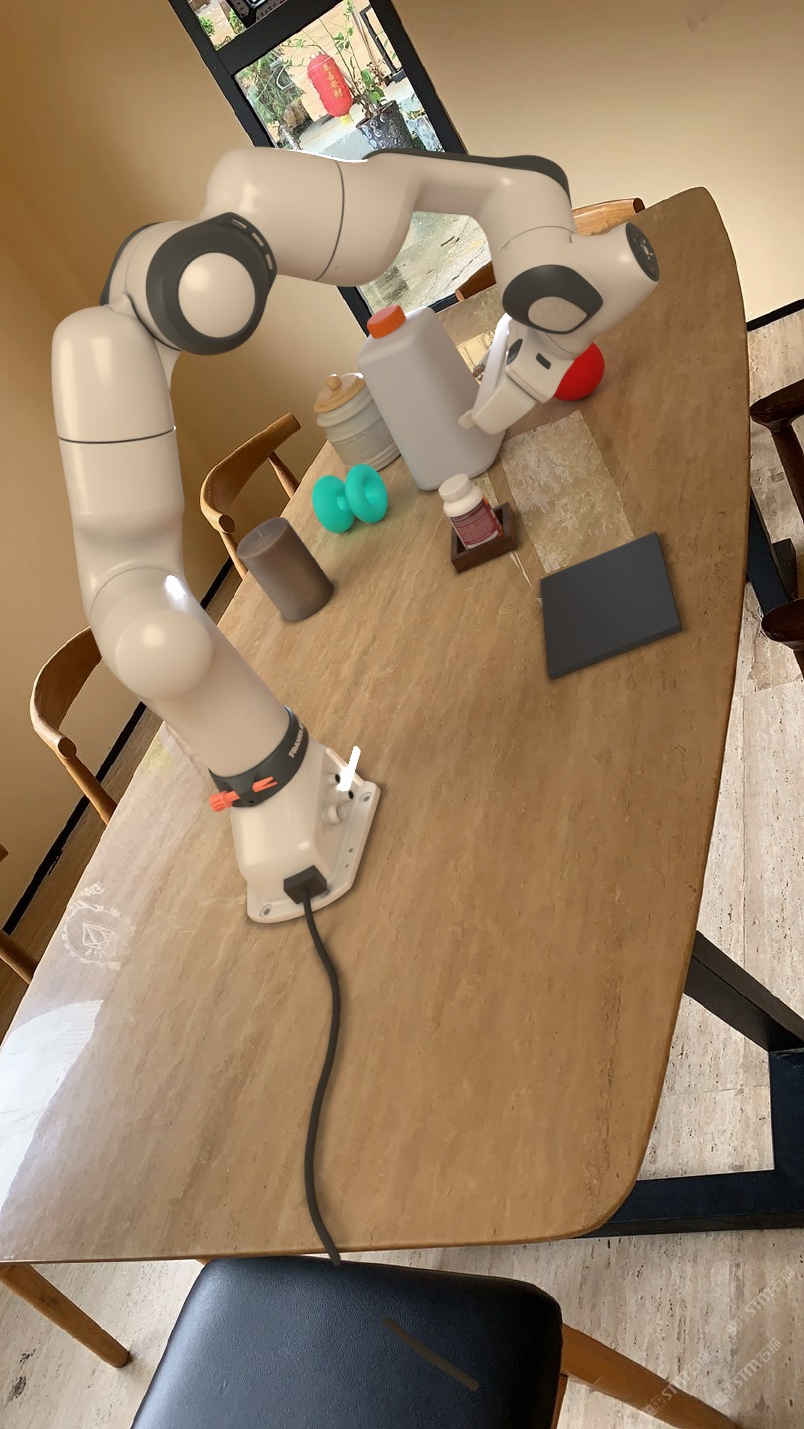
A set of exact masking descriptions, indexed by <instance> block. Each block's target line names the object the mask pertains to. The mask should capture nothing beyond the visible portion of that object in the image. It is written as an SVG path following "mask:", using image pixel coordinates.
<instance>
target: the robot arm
mask: <svg viewBox="0 0 804 1429" xmlns="http://www.w3.org/2000/svg"><path fill="white" fill-rule="evenodd" d="M569 184H570V183H569V179H568V176H567V174H566V172H565V170H564V169H563V168H562V166H560V165H559V164H558V163H556V162H555V161H554V160H551V159H548V158H546V157H543V156H541V155H534V154H521V155H520V154H517V155H510V156H501V157H500V156H483V155H475V154H474V155H473V154H465V153H457V152H448V151H441V150H440V151H439V150H432V149H422V148H411V147H384V148H378V149H375V150H372V151H370V152H368V153H367V154H365V155H364V156H363V157H362V158H361V159H360V160H346V159H340V158H335V157H331V156H327V155H323V154H318V153H315V152H308V151H303V150H296V149H289V148H282V147H281V148H280V147H270V146H269V147H268V146H238V147H235V148H232V149H230V150H228V151H226V152H225V153H224V154H222V155H221V157H220V158H219V159H218V160H217V162H216V164H215V165H214V166H213V169H212V170H211V173H210V175H209V177H208V181H207V184H206V187H205V188H206V189H205V194H204V195H205V196H204V205H203V206H202V209H201V211H200V213H199V214H198V215H197V217H195V218H193V220H189V221H186V220H169V221H160V222H159V221H158V222H152V223H148V224H145V225H142V226H140V227H139V228H136V229H135V230H134V231H132V232H131V233H130V234H129V235H128V236H127V237H125V239H124V240H123V242H122V243H121V244H120V245H119V247H118V249H117V252H115V253H116V254H115V255H114V258H113V259H112V260H113V261H112V263H111V267H110V270H109V273H108V275H107V278H106V281H105V283H104V286H103V288H102V290H101V294H100V296H99V300H98V304H99V305H96V306H91V307H85V308H82V309H80V310H77V311H75V312H73V313H71V314H69V315H68V316H66V317H65V318H63V319H62V320H61V321H60V322H59V323H58V325H57V326H56V328H55V330H54V332H53V336H52V339H51V357H50V358H51V359H50V361H51V362H50V363H51V364H50V365H51V369H50V370H51V372H50V373H51V393H52V404H53V405H52V406H53V414H54V422H55V430H56V435H57V440H58V445H59V451H60V458H61V463H62V468H63V475H64V481H65V486H66V487H65V488H66V492H67V498H68V503H69V509H70V516H71V522H72V523H71V524H72V532H73V542H74V550H75V557H76V565H77V572H78V574H77V575H78V579H79V580H78V581H79V587H80V588H79V589H80V594H81V601H82V607H83V612H84V615H85V617H86V619H87V622H88V625H89V628H90V630H91V633H92V635H93V638H94V640H95V643H96V646H97V648H98V651H99V653H100V656H101V659H102V661H103V663H104V664H105V666H106V667H107V669H108V670H109V671H110V672H111V674H112V675H113V676H114V677H115V678H116V679H117V680H118V681H119V682H120V683H121V684H123V686H125V687H126V689H128V691H130V692H131V693H132V694H133V695H134V696H135V697H136V698H137V699H138V700H139V701H140V702H141V703H143V705H144V706H146V707H147V708H148V709H149V710H150V711H152V712H153V713H154V714H155V715H156V716H157V717H159V718H160V719H161V720H163V721H164V722H165V723H166V724H167V725H168V726H169V727H170V728H171V729H172V730H173V731H174V732H175V733H176V734H177V735H178V736H179V737H180V739H181V740H182V741H183V742H184V743H185V744H186V745H187V746H188V748H190V749H191V751H193V752H194V754H195V755H196V756H197V757H198V758H199V760H200V761H201V762H203V764H204V765H205V766H206V767H207V770H208V773H209V775H210V778H211V779H212V783H213V784H214V786H215V788H216V789H217V791H218V792H219V793H215V794H212V795H210V796H209V801H208V802H209V805H210V808H211V809H212V811H214V812H215V813H221V812H222V811H224V810H225V809H227V808H228V812H229V822H230V828H231V832H232V837H233V838H232V839H233V846H234V850H235V851H234V852H235V857H236V864H237V868H238V870H239V872H240V874H241V876H242V878H243V879H244V880H245V882H246V911H247V912H246V913H247V916H248V917H249V918H250V920H251V921H252V922H256V923H258V924H274V923H275V924H276V923H281V922H286V921H290V920H294V919H297V918H300V917H303V916H305V920H306V924H307V927H308V930H309V934H310V936H311V939H312V942H313V944H314V947H315V950H316V952H317V954H318V955H319V958H320V960H321V962H322V964H323V966H324V968H325V970H326V973H327V975H328V978H329V983H330V989H331V996H332V997H331V998H332V1010H331V1012H332V1013H331V1023H330V1031H329V1037H328V1045H327V1050H326V1054H325V1059H324V1062H323V1066H322V1069H321V1073H320V1076H319V1080H318V1083H317V1085H316V1086H317V1087H316V1089H315V1094H314V1096H313V1102H312V1106H311V1111H310V1117H309V1123H308V1129H307V1134H306V1141H305V1150H304V1164H303V1165H304V1166H303V1170H304V1171H303V1172H304V1173H303V1174H304V1188H305V1195H306V1202H307V1207H308V1212H309V1216H310V1219H311V1222H312V1224H313V1226H314V1229H315V1231H316V1233H317V1236H318V1237H319V1239H320V1242H321V1244H322V1246H323V1247H324V1249H325V1251H326V1253H327V1256H328V1257H329V1259H330V1261H331V1264H333V1265H334V1267H338V1266H339V1265H340V1264H341V1261H342V1257H341V1254H340V1252H339V1251H338V1250H339V1249H337V1247H336V1245H335V1242H334V1241H333V1239H332V1237H331V1234H330V1232H329V1231H328V1229H327V1227H326V1224H325V1222H324V1220H323V1218H322V1215H321V1212H320V1209H319V1206H318V1201H317V1196H316V1191H315V1190H316V1188H315V1180H314V1157H315V1147H316V1140H317V1133H318V1128H319V1122H320V1114H321V1108H322V1104H323V1100H324V1095H325V1093H326V1089H327V1085H328V1082H329V1079H330V1075H331V1072H332V1068H333V1065H334V1061H335V1056H336V1052H337V1044H338V1038H339V1032H340V1031H339V1030H340V1022H341V993H340V985H339V980H338V975H337V971H336V969H335V967H334V965H333V963H332V961H331V959H330V957H329V955H328V953H327V951H326V949H325V946H324V944H323V942H322V938H321V937H320V933H319V931H318V928H317V925H316V922H315V918H314V913H313V912H316V911H318V910H321V909H323V908H324V907H327V906H329V905H330V904H332V903H333V902H335V901H336V900H338V899H339V898H341V897H342V896H343V895H345V894H346V893H347V892H348V891H349V890H350V889H351V888H352V887H353V885H354V883H355V880H356V876H357V873H358V870H359V867H360V863H361V860H362V856H363V853H364V851H365V847H366V843H367V840H368V837H369V833H370V829H371V828H372V823H373V820H374V817H375V813H376V810H377V807H378V804H379V801H380V797H381V793H382V790H381V788H380V787H379V786H378V785H377V784H376V783H375V782H372V781H369V780H365V779H363V778H361V776H359V775H358V773H357V772H356V771H355V770H356V768H357V763H358V760H359V757H360V754H361V750H360V748H359V747H358V746H357V745H356V746H353V750H352V754H351V756H350V759H349V760H350V761H349V763H347V762H346V761H345V760H344V759H343V758H342V757H341V756H340V755H339V754H338V753H337V752H336V751H335V750H334V749H333V748H331V747H329V746H328V745H325V744H324V743H321V742H320V741H319V740H317V739H315V738H313V737H312V736H311V735H309V731H308V729H307V727H306V725H304V723H303V722H302V720H301V718H300V717H299V716H298V715H297V714H296V713H295V712H294V711H292V710H291V709H290V707H288V706H286V705H284V704H282V703H281V701H280V700H279V699H278V697H277V696H276V695H275V694H274V693H273V691H272V690H271V689H270V688H269V686H268V685H267V684H266V683H265V681H263V679H262V678H261V677H260V675H259V674H258V673H257V671H256V670H255V669H254V668H253V667H252V666H251V664H250V663H249V662H248V660H247V659H246V658H245V657H244V656H243V655H242V653H240V652H239V651H238V649H237V648H236V647H235V646H234V645H233V643H232V642H231V641H230V640H229V639H228V638H227V636H226V635H225V634H224V633H223V632H222V630H221V629H220V628H219V627H218V625H217V624H216V623H215V622H214V621H213V619H212V617H210V616H209V615H208V613H207V612H206V611H205V609H204V608H203V606H202V605H201V604H200V602H199V601H198V600H197V598H196V597H195V595H194V594H193V593H192V591H191V588H190V585H189V584H188V580H187V577H186V575H185V570H184V556H183V522H184V521H183V519H184V518H183V517H184V512H185V506H186V505H185V504H186V503H185V496H184V487H183V481H182V480H183V479H182V472H181V471H182V470H181V465H180V456H179V448H178V447H179V446H178V439H177V432H176V424H175V423H176V422H175V417H174V410H173V405H172V404H173V403H172V399H171V393H170V392H171V391H172V390H171V389H172V388H171V387H172V376H173V372H174V368H175V365H176V363H177V360H178V359H179V357H180V356H181V354H182V351H184V352H186V353H190V354H193V355H196V356H207V357H209V356H218V355H222V354H226V353H229V352H232V351H234V350H236V349H237V348H239V347H241V346H242V345H244V344H245V343H246V342H248V340H249V339H250V338H251V337H252V335H253V334H254V333H255V332H256V330H257V329H258V327H259V325H260V323H261V320H262V318H263V316H264V313H265V310H266V305H267V302H268V297H269V294H270V292H271V290H272V288H273V285H274V282H275V280H276V278H277V275H278V276H285V277H291V278H297V279H301V280H306V281H310V282H316V283H320V284H324V285H330V286H335V287H344V288H345V287H346V288H350V287H351V288H352V287H361V286H365V285H368V284H371V282H373V281H375V280H377V279H378V278H379V277H382V276H383V275H384V274H385V273H386V272H387V271H388V270H389V269H390V267H391V266H392V265H393V264H394V262H395V260H396V259H397V257H398V256H399V254H400V252H401V250H402V248H403V246H404V244H405V242H406V239H407V237H408V234H409V231H410V229H411V225H412V224H411V223H412V219H413V215H414V213H416V212H418V213H433V214H444V215H456V216H468V217H471V218H472V219H473V220H474V221H475V222H476V223H477V224H478V225H479V227H480V228H481V229H482V232H483V233H484V235H485V237H486V241H487V245H488V249H489V254H490V258H491V263H492V268H493V275H494V279H495V284H496V288H497V291H498V292H497V293H498V296H499V299H500V302H501V305H502V308H503V310H504V312H505V314H504V315H503V316H502V318H501V319H500V320H499V322H498V323H497V325H496V328H495V333H494V336H493V340H492V343H491V345H490V346H489V347H488V349H487V351H486V352H485V353H484V355H483V357H482V358H481V359H480V360H479V361H478V362H477V363H476V364H475V365H474V366H473V371H472V375H473V376H474V377H475V379H476V380H477V381H479V382H480V384H479V385H480V388H479V392H478V395H477V399H476V402H475V405H474V407H473V409H469V408H466V409H465V410H464V411H463V412H462V413H461V414H460V417H459V420H458V423H459V424H460V425H461V426H462V427H463V428H465V429H470V428H471V427H472V426H474V425H475V424H476V425H477V426H478V427H480V428H481V429H482V430H483V431H485V432H486V433H487V434H489V435H496V434H499V433H500V432H502V431H503V430H505V431H506V430H507V429H508V428H509V427H511V426H512V425H514V424H515V423H516V422H518V421H519V420H520V419H521V418H523V417H524V416H525V415H527V414H528V413H529V412H530V411H531V410H532V409H533V408H534V407H535V406H536V404H537V403H538V402H539V403H541V404H545V403H546V402H548V401H550V400H551V399H552V398H553V395H554V394H555V392H556V390H557V388H558V386H559V384H560V382H561V380H562V378H563V376H564V375H565V373H566V372H567V370H568V369H569V368H570V366H571V365H572V364H573V363H574V359H576V358H577V357H578V356H579V355H581V354H582V353H583V352H584V351H586V350H587V349H588V348H589V346H590V345H591V343H592V342H594V340H596V339H597V338H598V337H599V336H602V335H604V334H607V333H609V332H610V331H612V330H613V329H615V328H616V327H617V326H618V325H620V324H621V323H622V322H623V321H625V320H626V319H627V318H628V317H629V316H631V315H632V314H633V313H634V312H635V311H636V310H637V309H638V308H639V307H640V306H642V304H643V303H644V302H645V301H646V300H648V298H649V297H650V296H651V295H652V294H653V292H654V291H655V289H656V287H657V286H658V284H659V281H660V274H661V273H660V268H659V263H658V259H657V256H656V253H655V250H654V247H653V246H652V244H651V242H650V240H649V238H648V237H647V235H646V234H645V233H644V232H643V230H641V228H640V227H639V226H637V225H636V224H634V223H632V222H629V221H625V222H623V223H621V224H619V225H617V226H616V227H614V228H612V229H611V230H610V231H608V232H606V233H601V234H595V235H594V234H593V235H582V234H579V232H578V228H577V224H576V220H575V216H574V213H573V206H572V198H571V192H570V186H569ZM380 1322H381V1323H382V1324H383V1325H384V1326H386V1328H387V1329H389V1330H390V1331H391V1332H392V1333H393V1334H394V1335H395V1336H396V1337H397V1338H399V1340H401V1341H402V1342H403V1343H405V1345H406V1346H408V1347H409V1348H410V1349H412V1350H413V1351H415V1352H416V1353H417V1354H418V1355H420V1356H421V1357H423V1358H424V1359H426V1361H428V1362H430V1363H431V1364H432V1365H434V1366H436V1367H437V1368H438V1369H440V1370H442V1371H443V1372H445V1373H446V1374H447V1375H449V1376H451V1377H452V1378H454V1379H455V1380H457V1381H458V1382H460V1383H461V1384H462V1385H464V1386H465V1387H467V1388H469V1390H470V1391H472V1392H474V1391H476V1390H477V1389H478V1387H479V1385H478V1384H479V1383H478V1382H477V1381H476V1380H474V1379H473V1378H472V1377H470V1376H469V1375H468V1374H467V1373H465V1372H464V1371H462V1370H461V1369H459V1368H458V1367H457V1366H455V1365H453V1364H452V1363H450V1362H449V1361H447V1360H446V1359H444V1358H443V1357H441V1356H440V1355H439V1354H437V1353H436V1352H434V1351H432V1350H431V1349H430V1348H428V1346H426V1345H424V1344H423V1343H422V1342H421V1341H419V1340H418V1339H417V1338H415V1337H414V1336H413V1335H412V1334H411V1333H409V1332H408V1331H407V1330H406V1329H405V1328H404V1327H402V1326H401V1325H400V1324H399V1323H398V1322H397V1321H396V1320H395V1319H394V1318H393V1317H391V1318H384V1319H380Z"/></svg>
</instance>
